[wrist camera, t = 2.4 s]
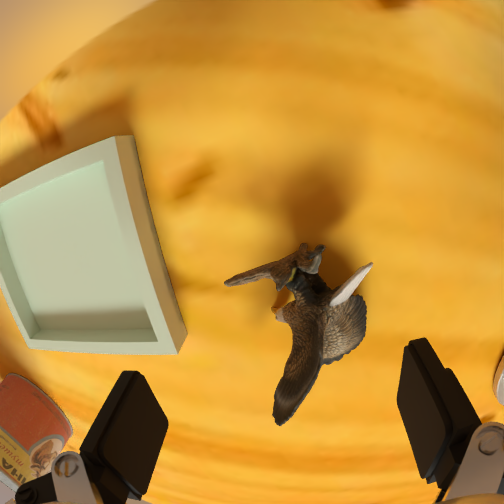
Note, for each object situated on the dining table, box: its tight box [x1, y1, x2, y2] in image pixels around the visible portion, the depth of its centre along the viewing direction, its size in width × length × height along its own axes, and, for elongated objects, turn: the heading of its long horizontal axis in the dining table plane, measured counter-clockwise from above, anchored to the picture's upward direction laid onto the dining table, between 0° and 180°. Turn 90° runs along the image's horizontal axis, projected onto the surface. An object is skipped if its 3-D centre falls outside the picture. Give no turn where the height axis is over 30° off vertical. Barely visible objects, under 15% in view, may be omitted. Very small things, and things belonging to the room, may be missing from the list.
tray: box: [0, 135, 188, 355], centre depth 18 cm, size 15×13×2 cm
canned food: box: [0, 373, 73, 492], centre depth 22 cm, size 11×11×12 cm
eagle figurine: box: [224, 243, 373, 426], centre depth 16 cm, size 8×7×9 cm
